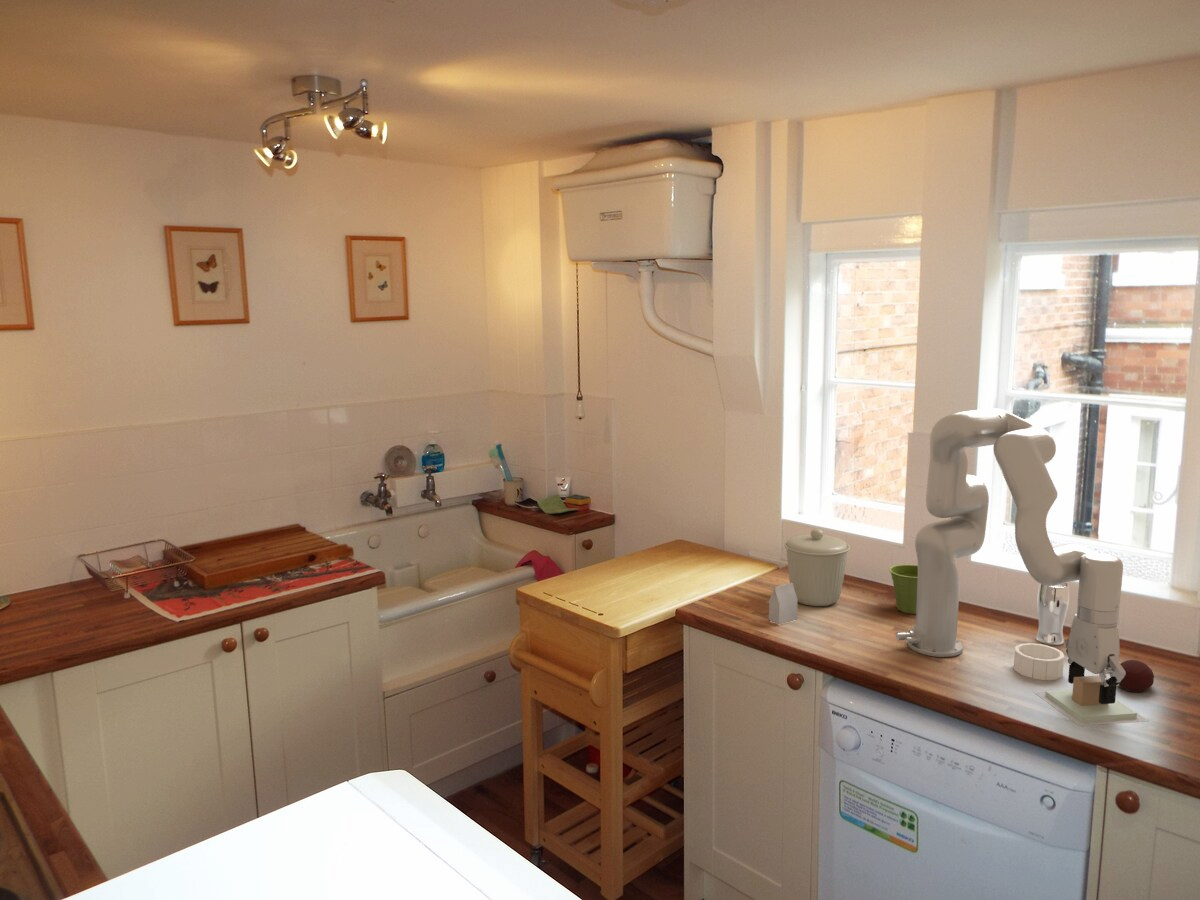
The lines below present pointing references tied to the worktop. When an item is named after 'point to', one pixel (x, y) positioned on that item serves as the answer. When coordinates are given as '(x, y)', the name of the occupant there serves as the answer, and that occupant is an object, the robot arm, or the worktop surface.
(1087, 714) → the board
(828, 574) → the canister
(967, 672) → the worktop surface
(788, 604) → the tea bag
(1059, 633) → the beer glass
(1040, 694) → the mat
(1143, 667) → the potato
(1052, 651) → the bowl
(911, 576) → the plant pot
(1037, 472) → the robot arm
